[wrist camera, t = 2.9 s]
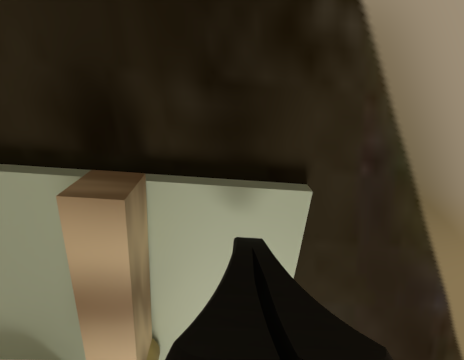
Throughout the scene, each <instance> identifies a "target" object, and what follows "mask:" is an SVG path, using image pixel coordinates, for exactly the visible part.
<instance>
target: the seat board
mask: <svg viewBox="0 0 464 360" xmlns="http://www.w3.org/2000/svg"><path fill="white" fill-rule="evenodd" d="M89 171H91V170H83V169H68V168H53V167H38V166H23V165H8V164H0V359H27V360H86V357H85V352H84V346H83V341H82V335H81V330H80V325H79V319H78V314H77V308H76V303H75V297H74V292H73V287H72V281H71V276H70V270H69V265H68V260H67V254H66V249H65V243H64V238H63V232H62V227H61V222H60V216H59V211H58V205H57V200H56V196H57V195H58V194H59V193H61V192H62V191H63V190H65V189H66V188H67V187H69V186H70V185H72V184H73V183H74V182H76V181H77V180H78V179H80V178H81V177H82V176H84V175H85V174H87V173H88V172H89ZM145 175H146V199H147V223H148V247H149V271H150V296H151V320H152V338H153V339H154V340H155V341H156V342H157V343H158V345H159V347H160V356H159V360H165V359H166V356H167V354H168V352H169V350H170V348H171V346H172V345H173V343H174V341H175V340H176V339H177V338H178V337H179V336H180V335H181V334H182V333H183V332H184V331H185V330H186V329H187V328H188V327H189V326H190V324H191V323H192V322H193V321H194V320H195V318H196V317H197V316H198V315H199V313H200V312H201V311H202V310H203V308H204V307H205V306H206V304H207V303H208V301H209V300H210V298H211V297H212V295H213V294H214V292H215V290H216V289H217V287H218V285H219V283H220V281H221V279H222V277H223V275H224V273H225V271H226V269H227V266H228V264H229V261H230V258H231V255H232V252H233V242H234V238H236V237H245V238H262V239H263V240H264V242H265V243H266V244H267V246H268V247H269V249H270V250H271V252H272V253H273V254H274V256H275V257H276V258H277V260H278V261H279V262H280V263H281V265H282V266H283V267H284V268H285V270H286V271H287V272H288V273H289V274H290V276H291V277H292V278H293V279H294V274H295V270H296V265H297V261H298V256H299V252H300V247H301V242H302V238H303V233H304V229H305V224H306V220H307V215H308V211H309V206H310V201H311V197H312V190H311V189H310V188H309V186H308V185H307V184H293V183H278V182H263V181H248V180H233V179H218V178H203V177H188V176H173V175H158V174H145Z"/></svg>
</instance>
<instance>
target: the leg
mask: <svg viewBox="0 0 464 360" xmlns="http://www.w3.org/2000/svg"><path fill="white" fill-rule="evenodd" d="M56 200H57V205H58V211H59V216H60V222H61V227H62V232H63V238H64V243H65V249H66V254H67V260H68V265H69V270H70V276H71V281H72V287H73V292H74V297H75V303H76V308H77V314H78V319H79V325H80V330H81V335H82V341H83V346H84V352H85V357H86V360H159V356H160V347H159V345H158V343H157V342H156V341H155V340H154V339H153V338H152V320H151V296H150V271H149V247H148V223H147V199H146V175H145V173H134V172H119V171H104V170H91V171H89V172H88V173H87V174H85V175H84V176H82V177H81V178H80V179H78V180H77V181H76V182H74V183H73V184H72V185H70V186H69V187H67V188H66V189H65V190H63V191H62V192H61V193H59V194H58V195H57V196H56Z"/></svg>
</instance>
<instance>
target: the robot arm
mask: <svg viewBox="0 0 464 360" xmlns="http://www.w3.org/2000/svg"><path fill="white" fill-rule="evenodd" d="M165 360H393V358H392V357H391V355H390V354H389V352H388V351H387V349H386V348H385V347H383V346H381V345H380V344H378V343H376V342H375V341H373V340H371V339H370V338H368V337H366V336H365V335H363V334H361V333H360V332H358V331H356V330H355V329H353V328H352V327H350V326H349V325H348V324H346V323H345V322H343V321H342V320H340V319H339V318H337V317H336V316H335V315H333V314H332V313H331V312H329V311H328V310H327V309H326V308H324V307H323V306H322V305H321V304H319V303H318V302H317V301H316V300H315V299H314V298H312V297H311V296H310V295H309V294H308V293H307V292H306V291H305V290H304V289H303V288H302V287H301V286H300V285H299V284H298V283H297V282H296V281H295V280H294V279H293V278H292V277H291V276H290V274H289V273H288V272H287V271H286V270H285V268H284V267H283V266H282V265H281V263H280V262H279V261H278V260H277V258H276V257H275V256H274V254H273V253H272V252H271V250H270V249H269V247H268V246H267V244H266V243H265V242H264V240H263V239H262V238H245V237H236V238H234V242H233V252H232V255H231V258H230V261H229V264H228V266H227V269H226V271H225V273H224V275H223V277H222V279H221V281H220V283H219V285H218V287H217V289H216V290H215V292H214V294H213V295H212V297H211V298H210V300H209V301H208V303H207V304H206V306H205V307H204V308H203V310H202V311H201V312H200V313H199V315H198V316H197V317H196V318H195V320H194V321H193V322H192V323H191V324H190V326H189V327H188V328H187V329H186V330H185V331H184V332H183V333H182V334H181V335H180V336H179V337H178V338H177V339H176V340H175V341H174V343H173V345H172V346H171V348H170V350H169V352H168V354H167V356H166V359H165Z"/></svg>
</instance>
